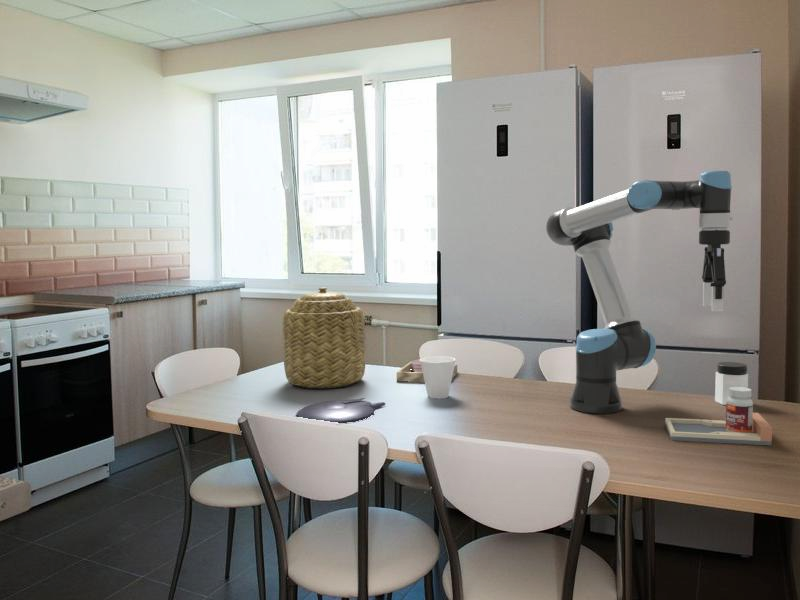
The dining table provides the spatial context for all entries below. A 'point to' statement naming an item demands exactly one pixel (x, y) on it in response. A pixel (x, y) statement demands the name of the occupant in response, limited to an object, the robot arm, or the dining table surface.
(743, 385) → the jar
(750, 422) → the pill bottle
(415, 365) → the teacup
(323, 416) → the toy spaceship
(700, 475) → the dining table surface
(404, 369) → the birch tray rim
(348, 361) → the basket
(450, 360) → the cup
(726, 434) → the keyhole board
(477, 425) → the dining table surface
